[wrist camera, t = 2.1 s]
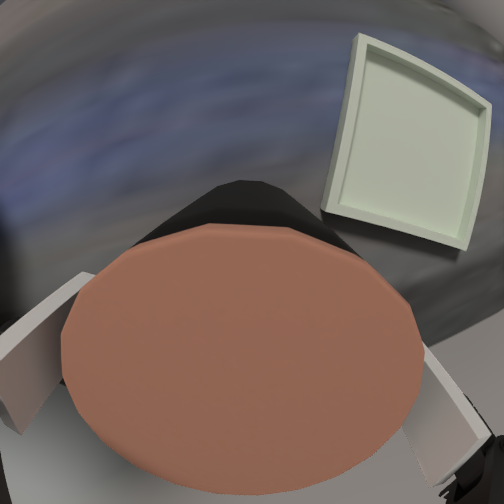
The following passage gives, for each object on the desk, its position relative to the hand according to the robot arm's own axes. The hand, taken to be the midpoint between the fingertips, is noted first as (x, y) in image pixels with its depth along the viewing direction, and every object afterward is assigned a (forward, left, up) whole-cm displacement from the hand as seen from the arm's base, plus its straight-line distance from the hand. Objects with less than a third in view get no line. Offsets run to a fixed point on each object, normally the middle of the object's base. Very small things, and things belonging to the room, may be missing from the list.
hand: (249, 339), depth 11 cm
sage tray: (+13, +12, -14) cm, 22 cm away
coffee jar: (0, 0, -14) cm, 14 cm away
